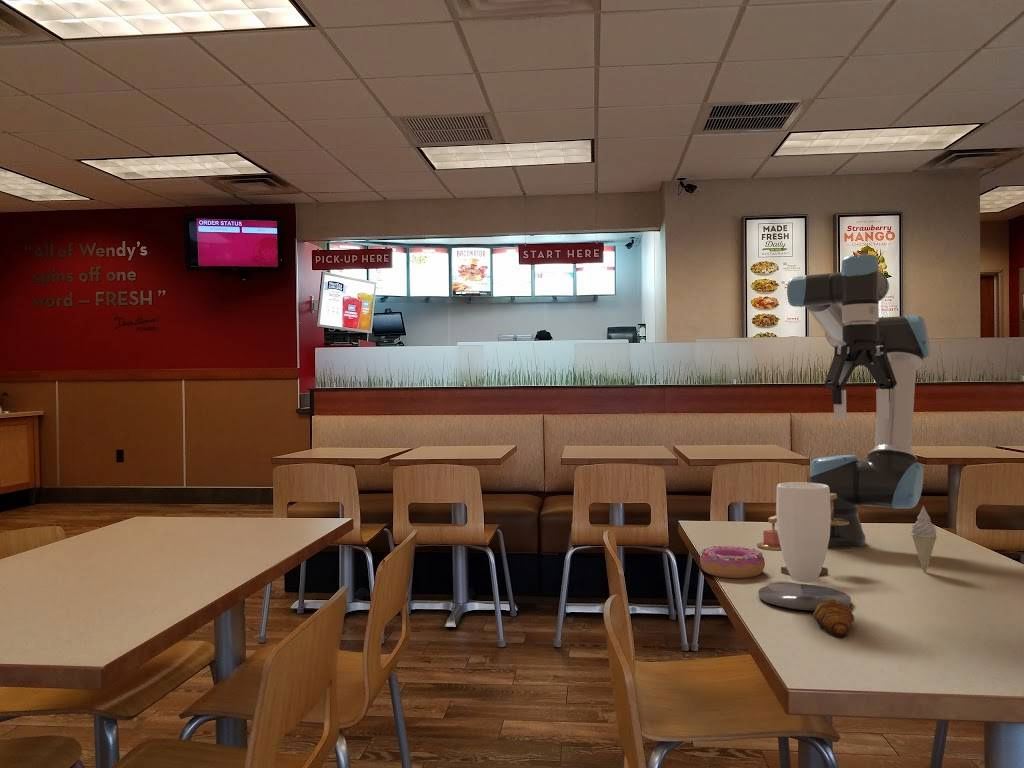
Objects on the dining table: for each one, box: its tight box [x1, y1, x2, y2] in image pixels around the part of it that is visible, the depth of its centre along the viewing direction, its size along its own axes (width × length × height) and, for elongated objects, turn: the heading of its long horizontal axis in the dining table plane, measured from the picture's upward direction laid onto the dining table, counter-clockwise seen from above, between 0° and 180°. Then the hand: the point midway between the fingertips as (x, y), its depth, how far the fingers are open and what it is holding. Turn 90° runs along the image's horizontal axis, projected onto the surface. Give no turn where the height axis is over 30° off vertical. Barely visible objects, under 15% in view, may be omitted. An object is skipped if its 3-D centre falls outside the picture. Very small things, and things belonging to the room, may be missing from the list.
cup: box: [775, 481, 831, 584], centre depth 150 cm, size 10×10×22 cm
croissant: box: [812, 599, 855, 638], centre depth 134 cm, size 14×7×5 cm, turn 169°
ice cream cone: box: [911, 505, 938, 573], centre depth 171 cm, size 5×5×15 cm
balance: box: [756, 493, 849, 576], centre depth 171 cm, size 25×7×17 cm, turn 116°
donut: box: [699, 545, 766, 579], centre depth 174 cm, size 14×14×5 cm
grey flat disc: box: [757, 583, 852, 612], centre depth 150 cm, size 17×17×1 cm
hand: (861, 418), depth 171 cm, fingers open, 13 cm apart
